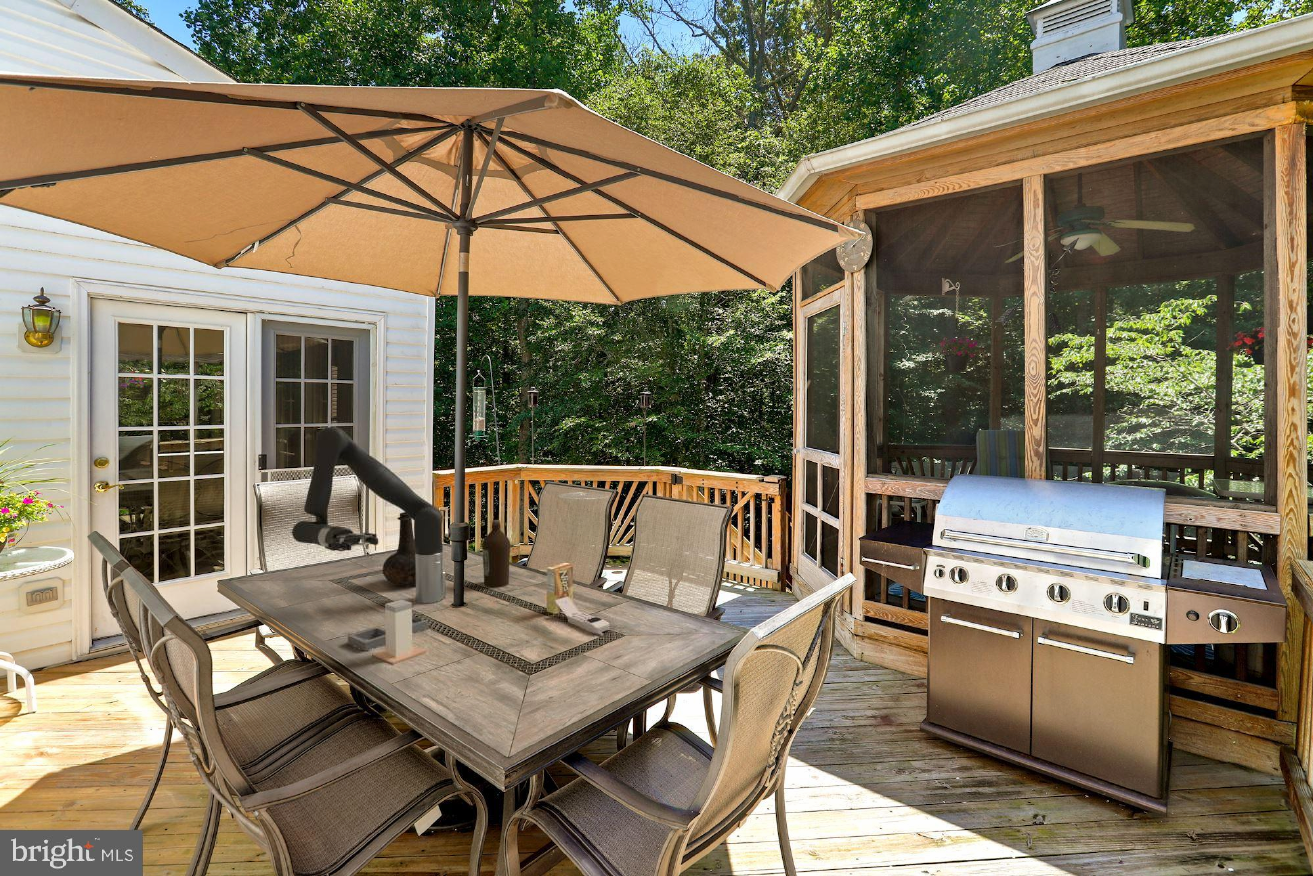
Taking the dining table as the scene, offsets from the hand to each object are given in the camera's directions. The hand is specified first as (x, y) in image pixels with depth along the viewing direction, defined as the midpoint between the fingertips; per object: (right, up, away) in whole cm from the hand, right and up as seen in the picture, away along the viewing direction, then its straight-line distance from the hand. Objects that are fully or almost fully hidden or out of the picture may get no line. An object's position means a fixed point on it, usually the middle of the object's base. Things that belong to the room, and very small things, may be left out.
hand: (363, 544), depth 191 cm
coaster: (+17, -28, -16) cm, 37 cm away
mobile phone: (+66, -28, +9) cm, 72 cm away
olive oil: (+27, -25, +52) cm, 64 cm away
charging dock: (+9, -27, -3) cm, 29 cm away
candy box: (+57, -27, +23) cm, 67 cm away
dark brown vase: (-7, -24, +52) cm, 58 cm away
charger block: (+17, -28, -16) cm, 36 cm away
